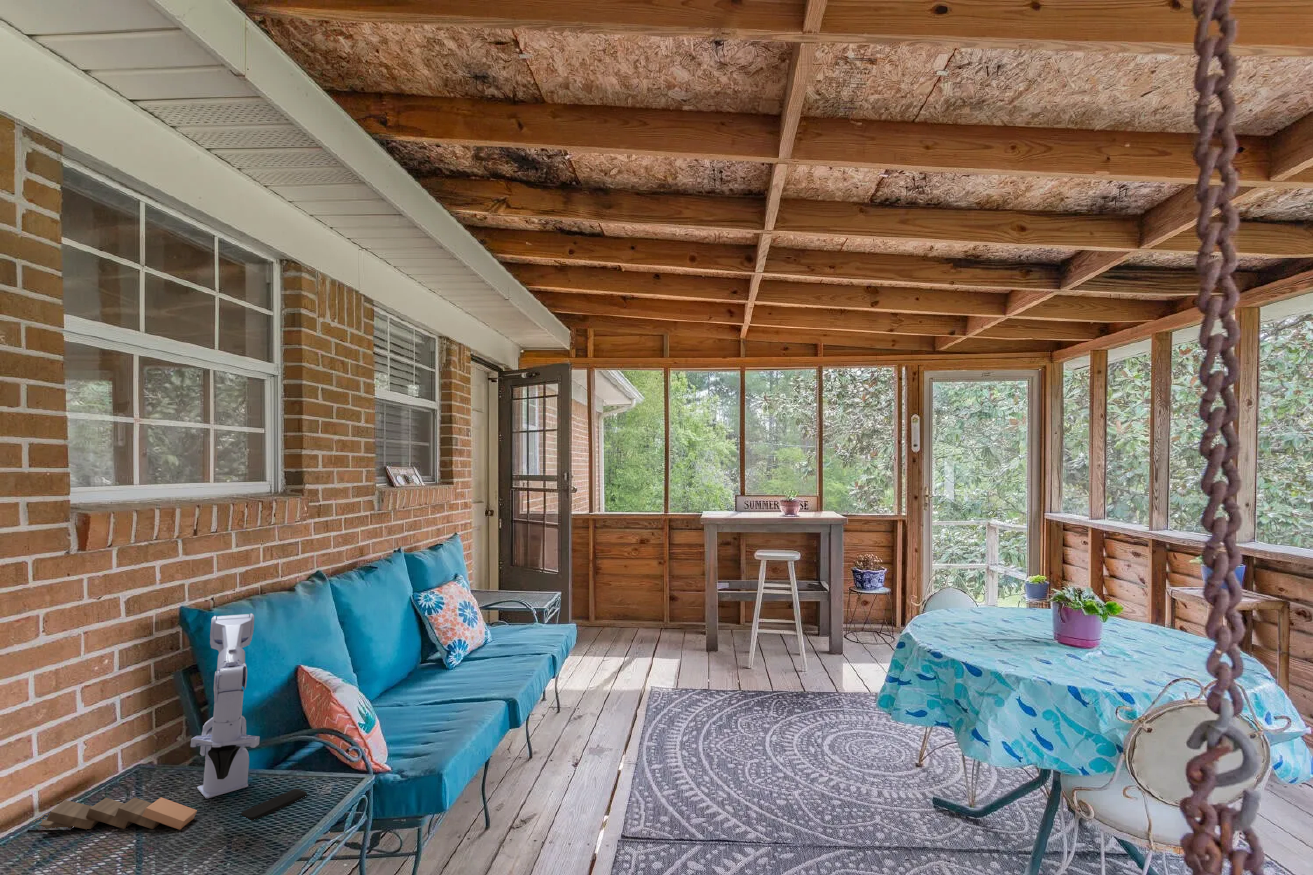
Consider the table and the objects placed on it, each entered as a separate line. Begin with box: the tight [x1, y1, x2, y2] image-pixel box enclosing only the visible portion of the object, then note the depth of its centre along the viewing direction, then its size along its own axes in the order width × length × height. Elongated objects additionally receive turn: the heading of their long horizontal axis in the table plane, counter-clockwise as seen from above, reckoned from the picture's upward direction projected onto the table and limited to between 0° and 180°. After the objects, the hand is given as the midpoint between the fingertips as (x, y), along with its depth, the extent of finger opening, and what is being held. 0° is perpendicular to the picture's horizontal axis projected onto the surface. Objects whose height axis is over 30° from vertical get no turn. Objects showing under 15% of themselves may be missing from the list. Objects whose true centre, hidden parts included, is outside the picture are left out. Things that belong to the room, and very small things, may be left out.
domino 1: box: [32, 812, 73, 828], centre depth 150 cm, size 2×5×9 cm
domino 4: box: [115, 797, 162, 830], centre depth 152 cm, size 2×5×9 cm
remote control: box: [240, 788, 308, 821], centre depth 162 cm, size 5×2×15 cm
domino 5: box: [143, 796, 198, 830], centre depth 152 cm, size 2×5×9 cm
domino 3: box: [86, 797, 134, 830], centre depth 152 cm, size 2×5×9 cm
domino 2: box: [47, 799, 100, 830], centre depth 150 cm, size 2×5×9 cm
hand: (222, 777), depth 154 cm, fingers closed
